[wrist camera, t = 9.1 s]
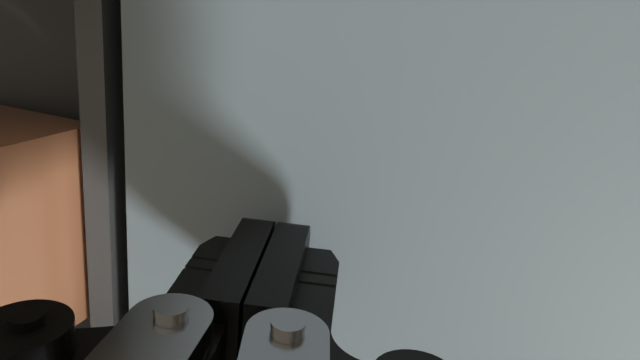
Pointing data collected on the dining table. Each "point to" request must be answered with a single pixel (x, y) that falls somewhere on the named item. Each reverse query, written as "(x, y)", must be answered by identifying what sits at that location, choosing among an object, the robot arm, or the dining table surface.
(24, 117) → the peach foam cube
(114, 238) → the box
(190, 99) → the board
